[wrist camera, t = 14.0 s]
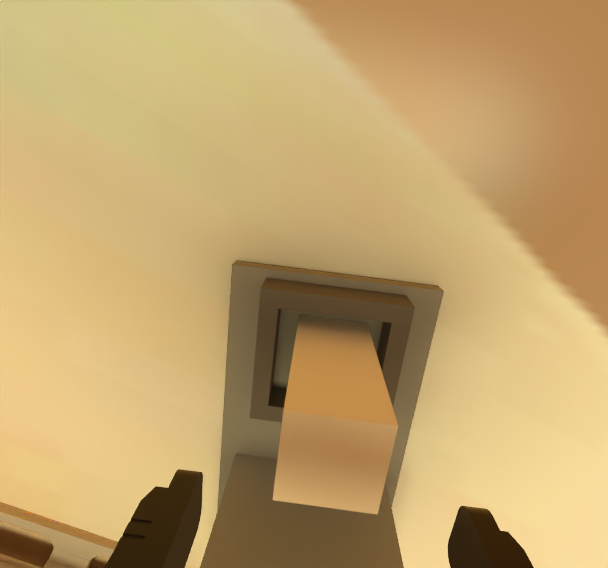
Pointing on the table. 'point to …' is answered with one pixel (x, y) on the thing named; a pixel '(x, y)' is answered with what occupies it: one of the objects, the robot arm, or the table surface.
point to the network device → (56, 541)
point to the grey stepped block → (270, 404)
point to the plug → (335, 420)
